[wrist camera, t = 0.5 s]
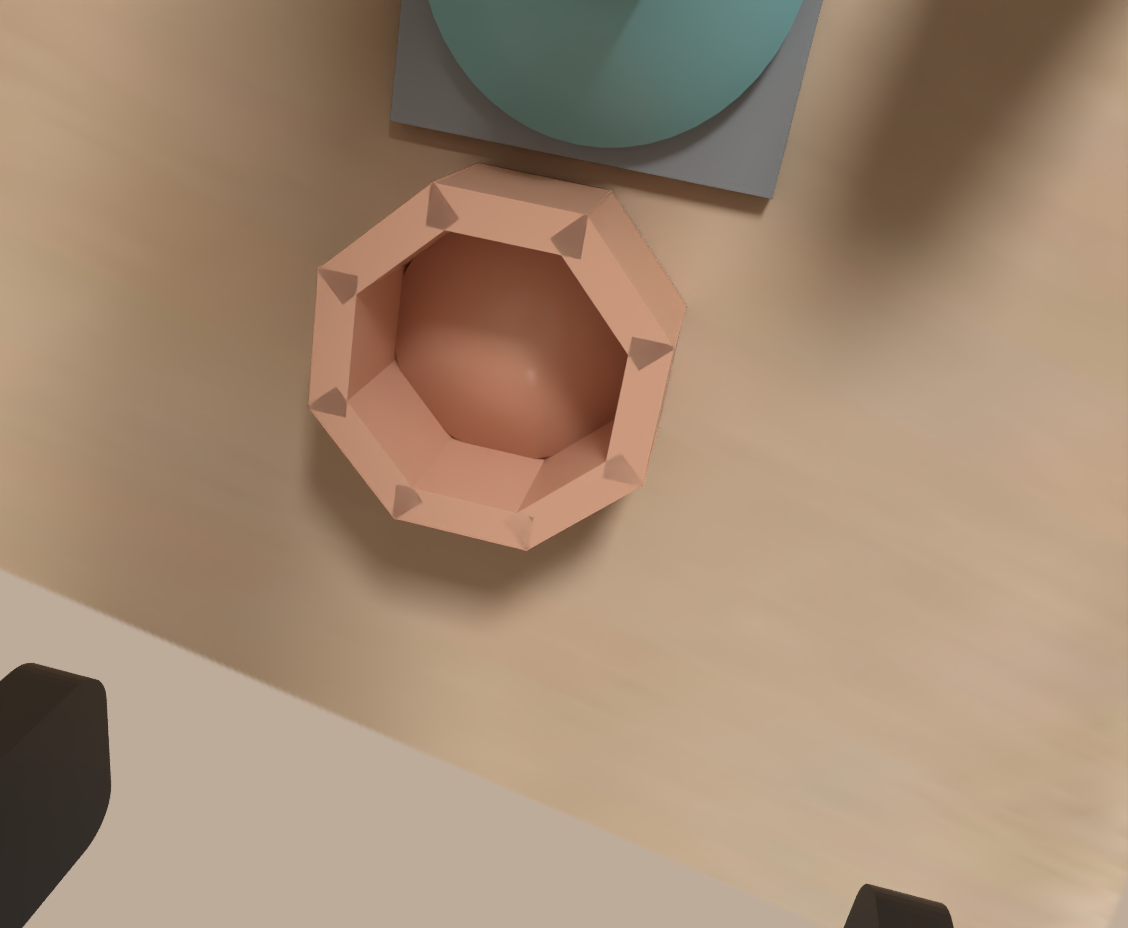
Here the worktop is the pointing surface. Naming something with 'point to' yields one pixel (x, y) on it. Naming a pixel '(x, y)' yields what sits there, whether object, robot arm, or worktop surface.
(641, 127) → the lid
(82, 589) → the worktop surface
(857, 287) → the worktop surface
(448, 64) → the mat
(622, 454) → the bowl
